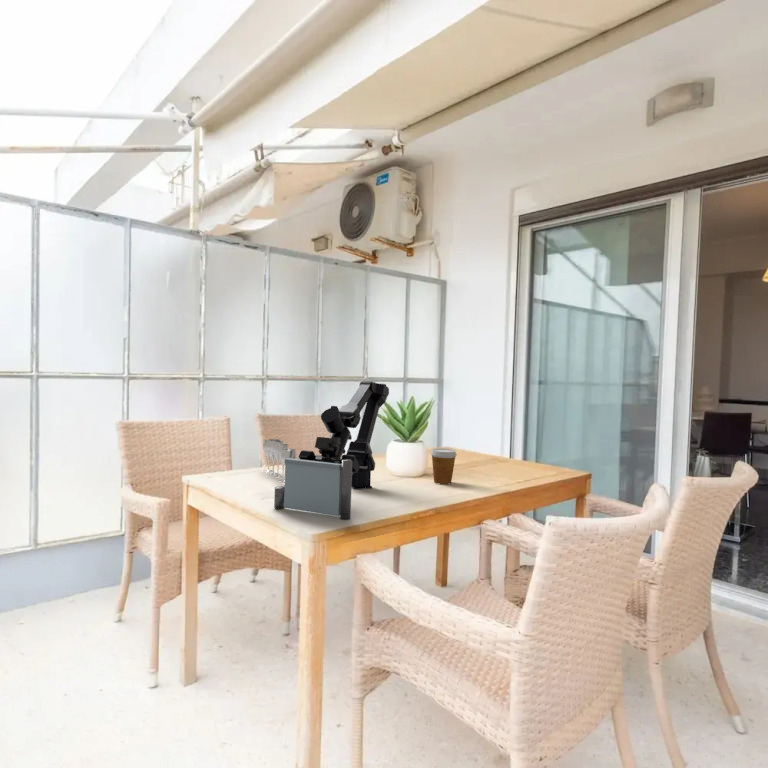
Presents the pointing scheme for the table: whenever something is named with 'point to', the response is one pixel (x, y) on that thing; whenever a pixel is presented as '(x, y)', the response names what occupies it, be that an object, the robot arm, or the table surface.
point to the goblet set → (278, 453)
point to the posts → (345, 491)
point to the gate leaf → (313, 486)
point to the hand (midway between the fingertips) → (318, 484)
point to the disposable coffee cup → (443, 465)
